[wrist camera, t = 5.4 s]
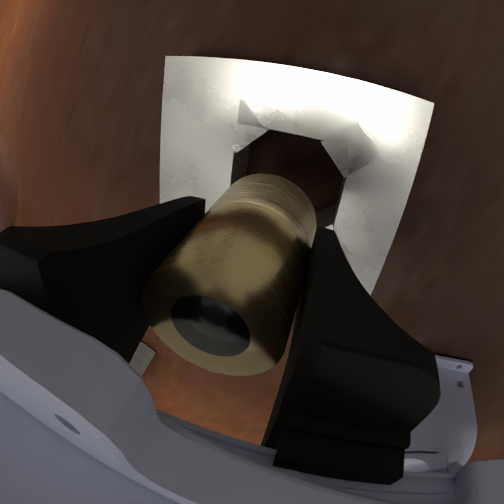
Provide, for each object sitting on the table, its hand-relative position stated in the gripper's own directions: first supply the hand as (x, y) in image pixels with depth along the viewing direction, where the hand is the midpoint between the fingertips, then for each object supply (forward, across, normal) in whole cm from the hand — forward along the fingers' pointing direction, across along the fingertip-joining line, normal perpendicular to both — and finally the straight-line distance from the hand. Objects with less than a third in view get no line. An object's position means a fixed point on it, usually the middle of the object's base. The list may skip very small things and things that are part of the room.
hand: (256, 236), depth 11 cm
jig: (+8, 0, 0) cm, 8 cm away
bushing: (+2, 0, 0) cm, 2 cm away
